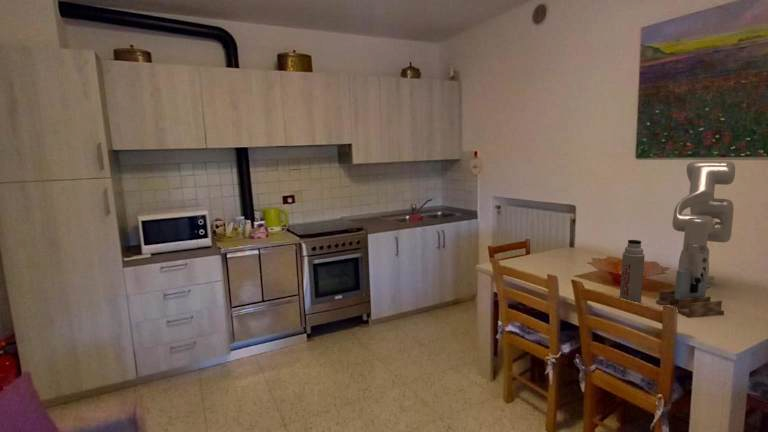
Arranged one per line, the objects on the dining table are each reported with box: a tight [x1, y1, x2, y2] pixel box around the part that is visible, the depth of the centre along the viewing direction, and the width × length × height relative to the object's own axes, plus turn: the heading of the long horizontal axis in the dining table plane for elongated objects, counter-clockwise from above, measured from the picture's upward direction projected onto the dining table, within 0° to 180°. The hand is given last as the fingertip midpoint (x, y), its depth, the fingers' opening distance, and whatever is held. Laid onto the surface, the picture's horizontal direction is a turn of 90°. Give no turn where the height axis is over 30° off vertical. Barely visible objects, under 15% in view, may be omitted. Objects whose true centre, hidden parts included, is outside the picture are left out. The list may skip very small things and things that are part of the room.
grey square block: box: [674, 269, 707, 300], centre depth 168 cm, size 12×2×12 cm, turn 99°
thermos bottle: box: [619, 239, 645, 304], centre depth 174 cm, size 8×8×28 cm
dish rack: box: [655, 289, 725, 319], centre depth 169 cm, size 16×16×6 cm
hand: (690, 291), depth 168 cm, fingers closed on grey square block, 2 cm apart
